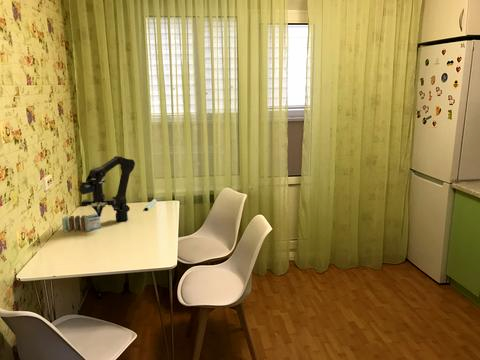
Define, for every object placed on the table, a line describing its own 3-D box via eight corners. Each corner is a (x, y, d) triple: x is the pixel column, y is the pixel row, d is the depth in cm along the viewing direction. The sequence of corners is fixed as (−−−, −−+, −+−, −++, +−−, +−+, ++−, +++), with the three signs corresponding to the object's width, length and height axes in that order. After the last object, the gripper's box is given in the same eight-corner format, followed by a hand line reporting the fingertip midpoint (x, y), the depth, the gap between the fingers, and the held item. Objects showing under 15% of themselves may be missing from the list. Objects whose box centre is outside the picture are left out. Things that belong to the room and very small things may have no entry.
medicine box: (89, 231, 228) (87, 217, 226) (84, 230, 231) (83, 216, 229) (101, 228, 234) (99, 214, 233) (96, 226, 237) (95, 213, 235)
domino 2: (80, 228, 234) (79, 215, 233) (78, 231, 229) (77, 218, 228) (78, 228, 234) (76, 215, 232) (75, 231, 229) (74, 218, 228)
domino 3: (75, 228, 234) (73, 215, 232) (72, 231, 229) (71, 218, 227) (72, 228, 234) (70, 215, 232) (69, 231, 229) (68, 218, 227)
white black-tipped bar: (148, 212, 268) (148, 207, 267) (139, 212, 268) (138, 207, 267) (157, 203, 290) (156, 199, 289) (148, 203, 290) (147, 199, 289)
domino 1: (86, 228, 235) (85, 215, 233) (84, 231, 230) (83, 217, 228) (84, 228, 234) (82, 215, 233) (81, 231, 230) (80, 218, 228)
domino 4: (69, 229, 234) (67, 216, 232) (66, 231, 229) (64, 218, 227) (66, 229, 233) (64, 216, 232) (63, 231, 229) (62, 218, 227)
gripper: (116, 187, 237) (118, 212, 240) (84, 188, 235) (86, 213, 238) (113, 191, 226) (115, 217, 229) (79, 192, 224) (81, 218, 227)
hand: (99, 216), depth 231 cm, fingers closed
